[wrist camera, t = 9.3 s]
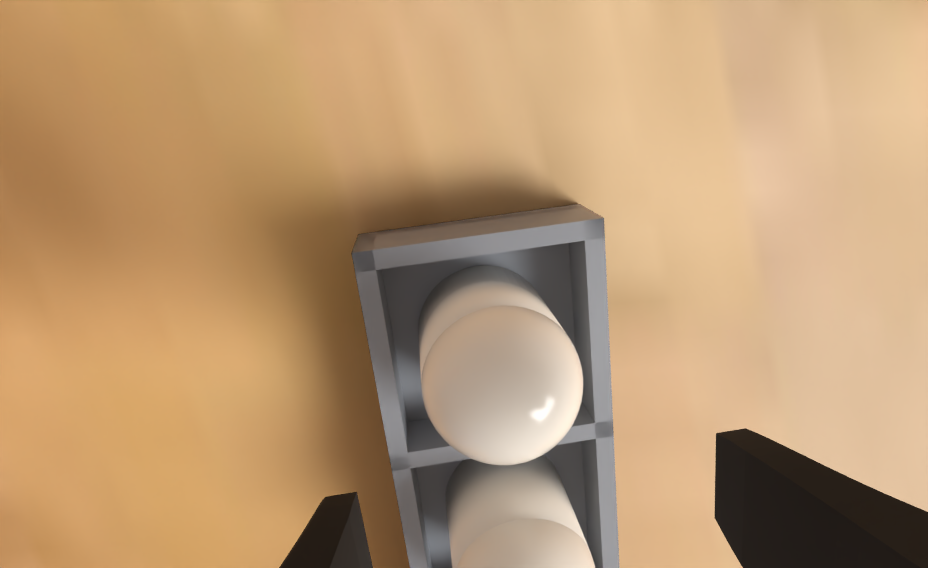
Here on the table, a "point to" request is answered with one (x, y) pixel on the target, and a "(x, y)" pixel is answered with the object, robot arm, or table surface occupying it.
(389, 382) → the egg crate
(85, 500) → the table surface
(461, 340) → the egg
